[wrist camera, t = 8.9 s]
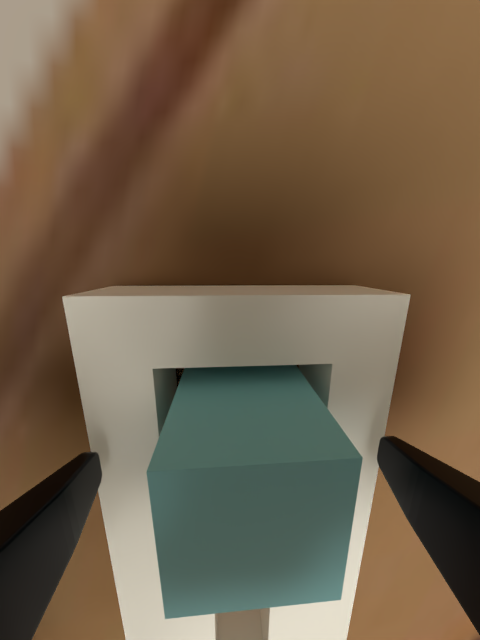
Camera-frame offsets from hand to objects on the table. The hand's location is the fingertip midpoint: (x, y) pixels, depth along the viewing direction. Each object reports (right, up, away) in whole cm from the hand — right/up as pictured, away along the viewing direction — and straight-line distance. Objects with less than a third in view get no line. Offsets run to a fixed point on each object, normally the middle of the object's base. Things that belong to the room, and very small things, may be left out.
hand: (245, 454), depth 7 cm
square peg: (0, +1, +3) cm, 4 cm away
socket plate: (0, -4, +5) cm, 6 cm away
